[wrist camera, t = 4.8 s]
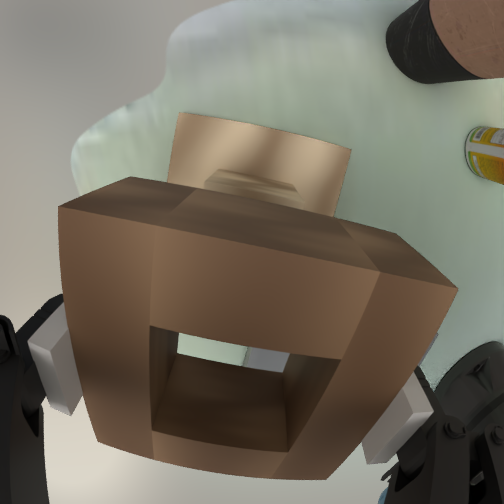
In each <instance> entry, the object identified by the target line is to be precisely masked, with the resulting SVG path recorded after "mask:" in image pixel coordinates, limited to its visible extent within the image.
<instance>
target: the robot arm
mask: <svg viewBox="0 0 504 504" xmlns="http://www.w3.org/2000/svg"><path fill="white" fill-rule="evenodd" d="M82 395H83V392H82V388H81V384H80V380H79V376H78V372H77V368H76V363H75V359H74V354H73V349H72V344H71V339H70V333H69V328H68V326H67V320H66V313H65V306H64V299H63V294H59V295H57V296H55V297H53V298H51V299H49V300H48V301H47V302H46V303H45V304H44V305H43V306H42V307H41V309H39V310H38V311H37V312H36V313H35V314H34V316H32V317H31V318H30V319H29V320H28V321H27V322H26V323H25V324H24V325H23V326H22V327H21V328H20V329H19V330H18V331H17V332H16V333H15V331H14V327H13V324H12V322H11V320H10V319H9V318H7V317H6V316H3V315H0V504H49V497H48V490H47V481H46V470H45V457H44V422H43V421H44V420H43V419H44V416H43V415H44V413H43V408H42V405H41V403H42V402H43V400H44V398H45V397H47V399H48V402H49V404H50V407H52V408H54V409H56V410H58V411H60V412H63V413H65V414H67V415H69V416H71V415H72V414H73V412H74V410H75V408H76V406H77V404H78V403H79V401H80V399H81V397H82ZM361 442H362V446H363V450H364V454H365V458H366V461H367V464H378V463H386V462H388V461H389V459H391V458H392V457H393V456H394V455H395V454H396V453H397V456H398V460H399V462H397V463H396V464H395V465H394V466H393V467H392V468H391V469H390V470H389V471H387V472H386V473H385V474H384V475H383V476H382V479H381V480H382V481H384V480H385V479H386V478H387V477H388V476H390V475H391V478H390V479H389V480H388V482H389V486H388V487H387V488H386V489H385V490H384V491H383V493H382V494H381V496H380V498H379V501H378V504H504V346H503V345H502V344H501V343H498V342H491V343H488V344H485V345H482V346H480V347H478V348H477V349H475V350H473V351H472V352H470V353H469V354H468V355H466V356H465V357H464V358H462V359H461V360H460V361H459V362H458V363H457V364H456V365H455V366H454V367H453V368H452V369H451V370H450V371H449V372H448V373H447V374H446V375H445V377H444V378H443V379H442V380H441V382H440V383H439V385H438V387H437V388H436V391H435V393H434V392H433V390H432V388H430V385H429V383H428V381H427V380H426V377H425V375H424V374H423V372H422V370H421V368H420V367H419V366H418V365H417V367H416V368H415V370H414V371H413V373H412V374H411V376H410V377H409V379H408V381H407V382H406V383H405V385H404V386H403V387H402V388H401V390H400V391H399V393H398V394H397V395H396V397H395V398H394V400H393V401H392V402H391V404H390V405H389V407H388V408H387V409H386V411H385V412H384V413H383V415H382V416H381V417H380V418H379V420H378V421H377V422H376V424H375V425H374V426H373V427H372V429H371V430H370V431H369V432H368V434H367V435H366V436H365V437H364V438H363V440H362V441H361Z"/></svg>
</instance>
